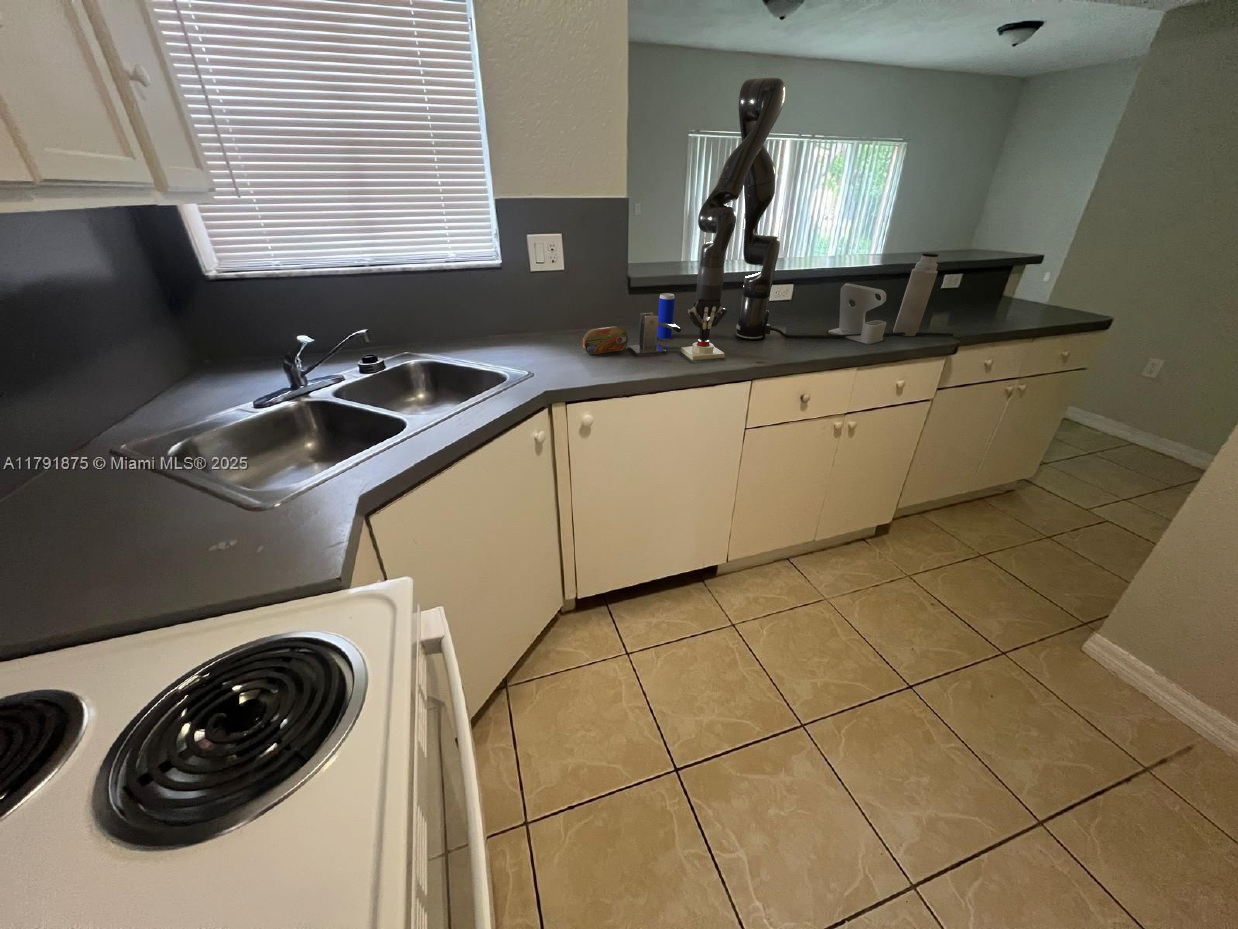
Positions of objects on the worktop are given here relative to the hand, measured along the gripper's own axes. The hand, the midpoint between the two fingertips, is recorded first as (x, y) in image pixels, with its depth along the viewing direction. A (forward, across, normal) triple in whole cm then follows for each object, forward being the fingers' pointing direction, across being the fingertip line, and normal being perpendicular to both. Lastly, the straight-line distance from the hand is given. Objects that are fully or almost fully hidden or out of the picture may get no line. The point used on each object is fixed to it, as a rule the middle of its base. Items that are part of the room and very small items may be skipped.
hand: (703, 340), depth 151 cm
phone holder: (+6, +66, +8) cm, 67 cm away
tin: (+6, -29, +10) cm, 31 cm away
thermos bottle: (+6, +88, +7) cm, 88 cm away
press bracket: (+5, -15, +9) cm, 19 cm away
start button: (+2, 0, 0) cm, 2 cm away
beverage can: (+6, -4, +22) cm, 23 cm away
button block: (+5, 0, 0) cm, 5 cm away
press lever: (-2, -11, +9) cm, 15 cm away
